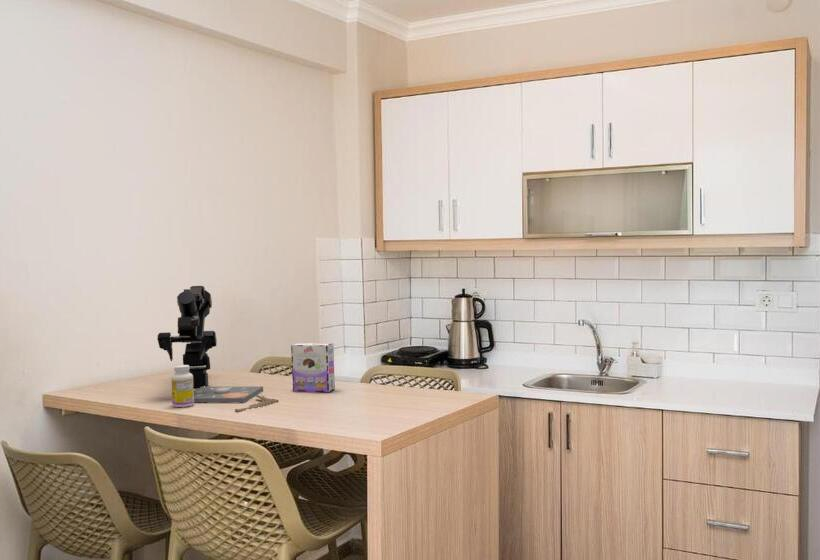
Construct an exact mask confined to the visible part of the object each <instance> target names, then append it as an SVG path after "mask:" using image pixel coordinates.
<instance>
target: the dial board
mask: <svg viewBox="0 0 820 560" xmlns="http://www.w3.org/2000/svg"><path fill="white" fill-rule="evenodd" d="M260 392H261V393H262V392H264V386H205V387H200V388H195V390H194V402H242V403H241V404H245V403H246V402H248V401H250V400H251V399H253V398H254V397H256V396H255V395H259V394H261V393H260ZM252 397H253V398H252ZM250 398H251V399H250ZM249 399H250V400H249ZM247 400H248V401H247ZM244 402H245V403H244Z"/></svg>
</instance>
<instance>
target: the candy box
mask: <svg viewBox="0 0 820 560" xmlns="http://www.w3.org/2000/svg"><path fill="white" fill-rule="evenodd" d="M290 350H291V352H290V353H291V371H292V392H294V391H295V392H297V393H298V392H299V393H300V392H301V393H305V392H306V393H330V392H333V391H335V390H336V384H335V383H336V381H335V380H336V379H335V355H334V343H331V342H328V343H327V342H323V343H322V342H297V343H293V344H291V345H290Z"/></svg>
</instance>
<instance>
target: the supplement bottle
mask: <svg viewBox="0 0 820 560" xmlns="http://www.w3.org/2000/svg"><path fill="white" fill-rule="evenodd" d="M173 369H174V373H173V375H172V376H171V394H172V395H171V398H172V400H171V401H172V406H173V407H174V408H177V407H182V408H189V407H188V406H190V407H192V406H193V405H195V403H194V389H195V388H193V375H192V374H191V373H189V369H190V367H189V365H183V364H179V365H175V366H174V368H173Z"/></svg>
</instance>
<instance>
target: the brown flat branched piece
mask: <svg viewBox="0 0 820 560" xmlns="http://www.w3.org/2000/svg"><path fill="white" fill-rule="evenodd" d="M254 397H255V398H258V399H260V400H261V401H260V402H257V403H254V404H253V403H252V404H250V405H248V407H243V408H236V409H234V412H235V413H238V412H243V410H244V411H247V410H246V409H249V410H253V409H252V408H254V409H259V408H258V407H260V408H264V407H263V406H265V407H268V406H271V405H273V403H274V404H276V403H275V402H277V403H279V402H278V401H279V399H275V398H268V397H266V396H264V395H259V394H257V395H255V396H254ZM270 404H271V405H270ZM267 405H268V406H267Z"/></svg>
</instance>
